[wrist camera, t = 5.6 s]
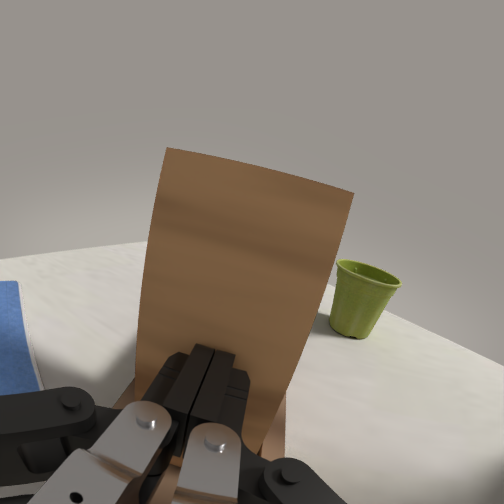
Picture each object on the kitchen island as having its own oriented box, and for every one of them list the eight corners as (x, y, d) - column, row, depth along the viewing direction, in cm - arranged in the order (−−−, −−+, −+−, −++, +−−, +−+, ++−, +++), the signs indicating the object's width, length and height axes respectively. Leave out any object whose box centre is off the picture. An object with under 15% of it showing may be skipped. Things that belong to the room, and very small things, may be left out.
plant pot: (359, 353, 32) (387, 288, 30) (303, 318, 38) (323, 258, 36) (387, 336, 38) (410, 282, 36) (339, 309, 45) (357, 258, 43)
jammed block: (242, 483, 12) (354, 193, 8) (135, 450, 12) (166, 147, 9) (253, 414, 18) (325, 190, 14) (168, 390, 18) (210, 161, 14)
